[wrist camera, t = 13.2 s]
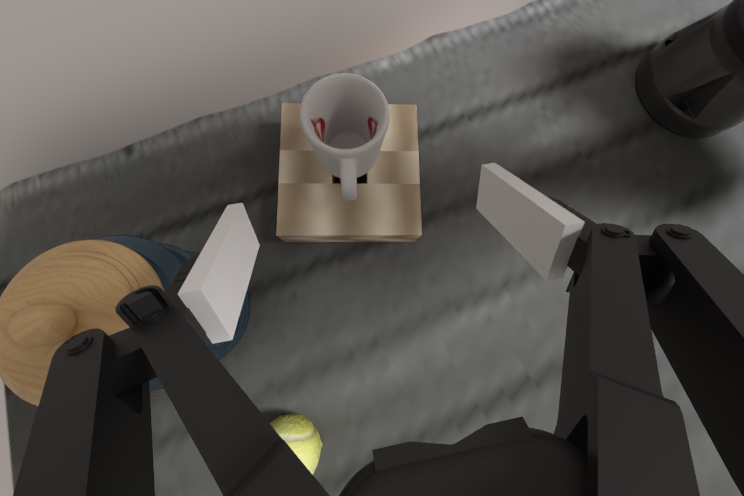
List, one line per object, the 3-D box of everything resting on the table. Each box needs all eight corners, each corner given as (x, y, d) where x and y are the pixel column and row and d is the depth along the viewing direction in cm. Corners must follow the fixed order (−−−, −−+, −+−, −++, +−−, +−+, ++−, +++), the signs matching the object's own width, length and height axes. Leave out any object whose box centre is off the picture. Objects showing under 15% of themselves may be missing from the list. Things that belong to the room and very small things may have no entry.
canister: (115, 330, 33) (-165, 370, 15) (185, 235, 35) (9, 175, 17) (209, 391, 32) (29, 506, 15) (275, 291, 34) (185, 286, 17)
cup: (386, 210, 32) (395, 183, 24) (315, 214, 32) (300, 187, 24) (380, 122, 34) (386, 70, 26) (312, 125, 33) (298, 72, 25)
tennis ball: (248, 432, 25) (241, 518, 24) (324, 427, 27) (321, 509, 26) (262, 405, 32) (257, 473, 31) (323, 402, 33) (320, 467, 32)
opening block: (410, 124, 38) (416, 104, 34) (415, 241, 36) (421, 235, 32) (290, 122, 38) (281, 102, 34) (285, 242, 35) (276, 235, 31)
